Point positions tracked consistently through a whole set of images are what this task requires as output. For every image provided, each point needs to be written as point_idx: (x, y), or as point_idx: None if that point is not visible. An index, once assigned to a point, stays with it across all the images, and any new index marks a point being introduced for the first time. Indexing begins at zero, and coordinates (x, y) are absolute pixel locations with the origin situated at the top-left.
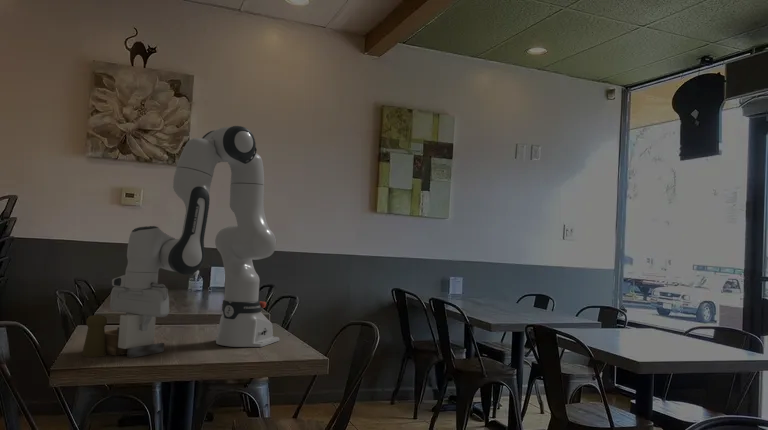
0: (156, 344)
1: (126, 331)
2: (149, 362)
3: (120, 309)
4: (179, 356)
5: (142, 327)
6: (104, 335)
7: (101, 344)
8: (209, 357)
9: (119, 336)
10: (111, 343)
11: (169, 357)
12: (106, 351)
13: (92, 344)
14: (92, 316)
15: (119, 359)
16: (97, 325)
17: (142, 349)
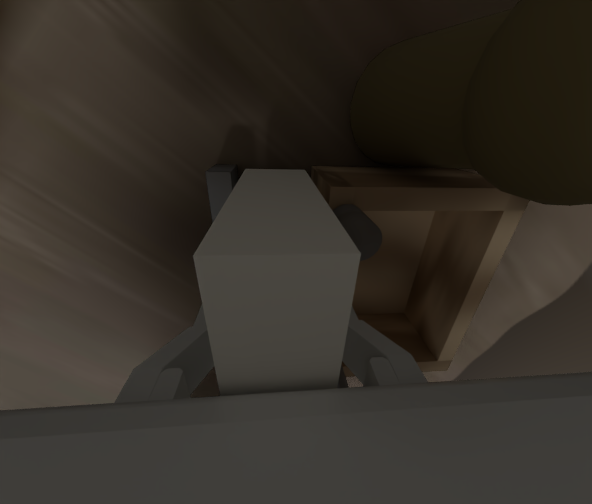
0: None
1: (233, 193)
2: (62, 151)
3: (525, 399)
4: (122, 306)
5: (201, 311)
6: (416, 144)
7: (379, 103)
8: (44, 351)
9: (305, 182)
10: (361, 175)
11: (125, 274)
12: (378, 168)
13: (416, 43)
14: None
15: (222, 106)
16: (511, 14)
17: None
